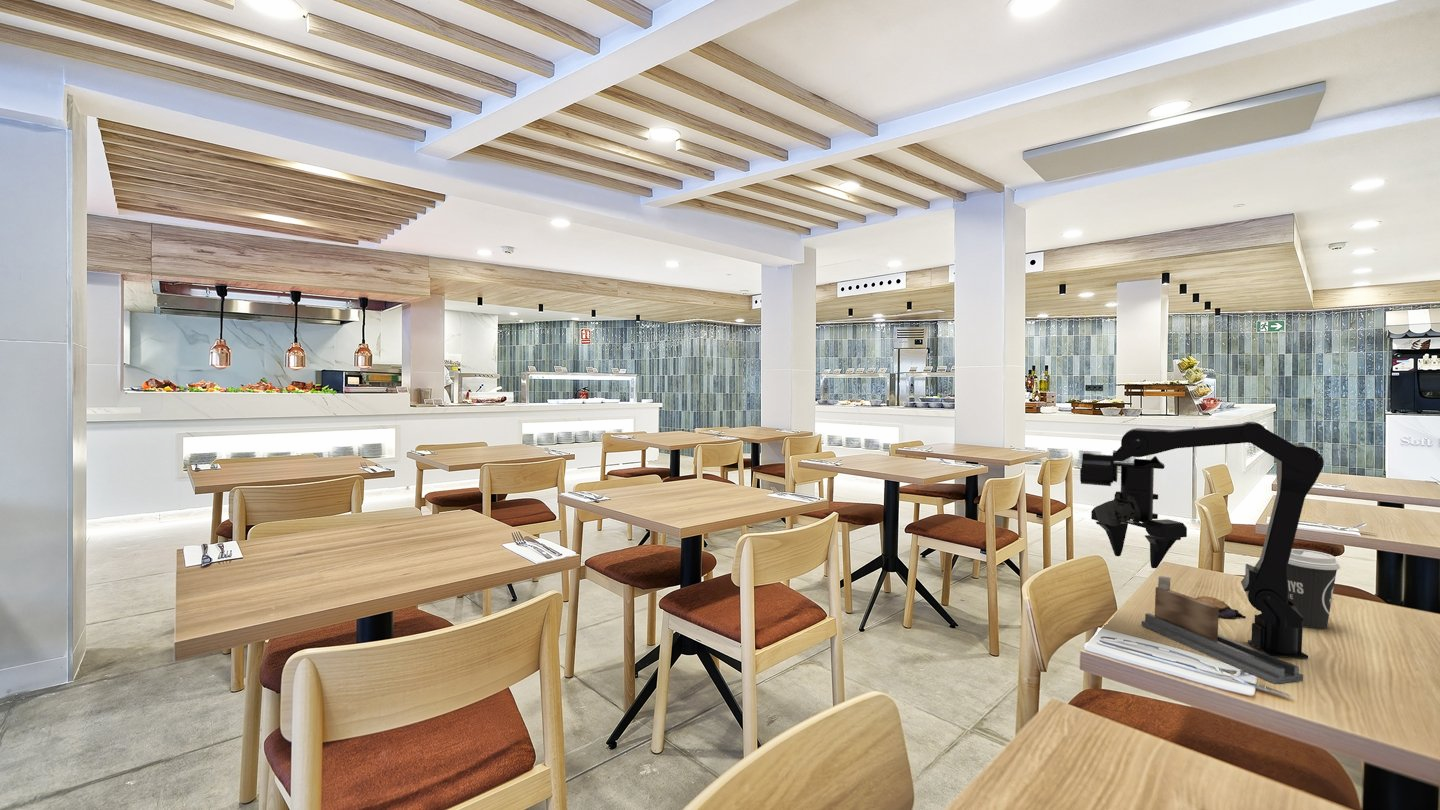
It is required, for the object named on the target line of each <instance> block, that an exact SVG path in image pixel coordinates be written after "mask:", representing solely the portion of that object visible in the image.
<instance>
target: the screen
mask: <svg viewBox="0 0 1440 810" xmlns="http://www.w3.org/2000/svg"><path fill="white" fill-rule="evenodd" d="M1157 579H1158V581H1157V582H1158V583H1157V587H1155V592H1154V594H1155V600H1154V601H1155V602H1154V615H1155V616H1157V617H1160V618H1162V619H1165V620H1167V621H1170V622H1172V623H1174V624H1177V625H1179V626H1182V627H1184V628H1187V629H1189V630H1192V631H1194V632H1197V633H1199V634H1201V635H1204V636H1206V637H1209V638H1211V639H1214V640H1216V641H1218V635H1219V618H1218V617H1219V607H1217V606H1214V605H1212V604H1209V603H1206V602H1203V601H1200V600H1197V599H1195V598H1196V597H1191V596H1188V595H1185V594H1182V593H1180V592H1177V591H1174V590H1172V589H1171V577H1169V576H1163V575H1160V576H1158V578H1157Z"/></svg>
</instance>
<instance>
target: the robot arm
mask: <svg viewBox="0 0 1440 810" xmlns="http://www.w3.org/2000/svg"><path fill="white" fill-rule="evenodd" d="M1246 443H1247V444H1252V445H1253V446H1255V447H1257V448H1258V449H1260V450H1262V451H1263V452H1264V453H1266V454H1269V455H1270V456H1271V457H1273V458H1275V459H1276V460H1275V462H1276V465H1275V467H1276V487H1277V488H1276V494H1275V499H1274V502H1273V506H1272V510H1271V514H1270V518H1269V523H1268V525H1267V526H1268V527H1267V530H1266V535H1265V537H1264V542H1263V546H1262V550H1261V554H1260V556H1259V559H1258V561H1257V562H1256V563H1255V565H1254V566H1253V565H1251V564H1248V563H1245V569H1244V570H1245V573H1244V576H1243V579H1242V580H1240V584H1241V586H1242V588H1243V591H1244V592H1245V594H1246V597H1247V600H1248V602H1249V604H1250V606H1252V607H1253V608H1254V609H1256V610H1257V611H1259V612H1261V613H1259V614H1254V622H1252V624H1251V639H1248V640H1247V643H1248V644H1249V645H1251V646H1253V647H1255V648H1256V649H1257V650H1258V651H1261V652H1263V653H1266V654H1268V655H1271V656H1273V657H1276V658H1277V657H1280V658H1294V659H1295V658H1296V659H1309V655H1308V654H1306V653H1304V652H1303V651H1302V650H1303V633H1304V632H1303V630H1304V629H1303V628H1304V627H1303V623H1302V621H1303V617H1302V616H1301V614H1300V612H1299V611H1298V609H1297V607H1296V606H1295V605H1294V604H1293V603H1292V602H1291V601H1290V600H1289V599H1288V576H1287V566H1288V562H1289V558H1290V554H1291V550H1292V549H1293V546H1294V542H1295V538H1296V534H1297V532H1298V531H1297V530H1298V526H1299V523H1300V520H1301V519H1300V518H1301V514H1302V511H1303V507H1304V504H1305V498H1306V497H1307V495H1308V494H1309V492H1310V491H1311V489H1312V488H1313V486H1314V485H1315V483H1316V482H1317V480H1318V479H1319V476H1320V474H1321V472H1322V471H1323V468H1324V465H1325V464H1324V462H1325V461H1324V458H1323V456H1322V455H1321V454H1320V453H1319V452H1318V451H1317V450H1315V449H1314V448H1311V447H1309V446H1306V445H1303V444H1293V443H1291V442H1290V441H1288V440H1286V439H1284V438H1282V437H1281V436H1279V435H1277V434H1276V433H1274V432H1272V431H1270V430H1268V429H1267V428H1265V426H1264V425H1262V424H1261V423H1259V422H1255V421H1246V422H1243V423H1237V424H1234V423H1232V424H1225V425H1223V424H1222V425H1216V426H1215V425H1213V426H1204V427H1202V426H1201V427H1194V428H1184V429H1159V428H1142V427H1139V428H1131V429H1130V430H1127V431H1126V432H1125V434H1123V436H1122V437H1121V440H1120V447H1119V448H1118V449H1117V450H1114V451H1113V452H1112V455H1111V454H1109V455H1108V454H1095V453H1089V452H1084V453H1082V460H1081V468H1080V470H1079V471H1080V472H1079V473H1080V474H1079V476H1080V477H1079V478H1080V479H1079V480H1080V484H1081V485H1091V486H1104V487H1105V486H1107V487H1112V484H1113V483H1118V478H1119V477H1118V476H1119V475H1118V474H1119V473H1118V472H1119V467H1120V491H1115V493H1114V499H1111V500H1109V501H1106V502H1104V503H1101V504H1100V505H1097V506H1095V507H1094V508H1093V509H1092V510H1091V512H1090V513H1091V515H1090V516H1091V520H1093V521H1095V523H1096V525H1098V526H1100V527H1101V528H1102V529H1103V531H1105V532H1106V535H1107V537H1108V541H1109V543H1110V546H1111V549H1112V551H1113V554H1114V556H1115V557H1121V555H1122V552H1123V548H1124V544H1125V539H1126V536H1127V531H1128V526H1129V525H1132V526H1136V527H1140V528H1144V529H1145V531H1146V533H1147V535H1144V537H1145V538H1146V539H1147V540H1146V541H1148V542H1149V561H1150V563H1149V564H1150V567H1151V569H1157V568H1159V566H1160V564H1161V562H1162V561H1163V559H1164V558H1165V556H1166V555H1167V553H1168V552H1169V550H1170V549H1171V548H1172V546H1173V545H1174V544H1175V543H1176V541H1181V539H1182V538H1187V537H1188V535H1187V534H1188V528H1187V525H1185V524H1184V522H1180V521H1177V520H1172V519H1168V518H1165V519H1159V515H1158V513H1153V512H1154V500H1159V494H1157V493H1154V475H1155V474H1154V473H1155V472H1154V471H1155V470H1154V469H1156V470H1157V469H1159V470H1163V469H1165V464H1164V463H1163V462H1161V461H1160V459H1159V458H1158V457H1157V456H1156V454H1159V453H1160V454H1161V453H1164V452H1168V451H1172V450H1175V449H1177V450H1178V449H1184V448H1185V449H1186V448H1187V449H1188V448H1196V447H1197V448H1198V447H1209V446H1220V445H1221V446H1223V445H1234V444H1235V445H1236V444H1246ZM1152 455H1154V456H1153V457H1152V458H1150V459H1145V458H1144V457H1148V456H1152ZM1132 457H1134V459H1133V462H1124V461H1125V460H1128V459H1130V458H1132Z"/></svg>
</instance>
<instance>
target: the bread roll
mask: <svg viewBox="0 0 1440 810" xmlns="http://www.w3.org/2000/svg"><path fill="white" fill-rule="evenodd" d="M1194 598H1195V599H1197V600H1200V601H1203V602H1206V603H1209V604H1212V605H1214V606H1217V607H1219V617H1218V619H1228V620H1241V619H1246V615H1243V614H1242V613H1241V612H1240V611H1239V610H1237V609H1232V608H1231V607H1230V605H1228V604H1227V603H1225V601H1223V600H1220V599H1219V598H1216V597H1213V596H1212V597H1211V596H1206V595H1205V596H1197V597H1194Z"/></svg>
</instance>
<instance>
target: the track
mask: <svg viewBox="0 0 1440 810" xmlns="http://www.w3.org/2000/svg"><path fill="white" fill-rule="evenodd" d="M1144 616H1145V617H1144V620H1141V623H1140V624H1141V627H1143V628H1146V629H1148V630H1151V631H1153V632H1154V633H1157V634H1160V635H1162V636H1164V637H1167V638H1169V639H1172V640H1174V641H1176V642H1178V643H1180V644H1183V645H1185V646H1187V647H1188V648H1192V649H1194V650H1195V651H1199V652H1201V653H1203V654H1206V655H1208V656H1210V657H1212V658H1215V659H1217V660H1220V661H1222V662H1224V663H1226V664H1228V665H1231V666H1233V667H1236V668H1238V669H1240V670H1242V671H1243V672H1247V673H1249V674H1251V675H1254V676H1255V677H1258V678H1261V679H1263V680H1265V681H1268V682H1270V683H1273V684H1275V685H1277V684H1279V685H1280V684H1287V683H1296V682H1303V680H1304V675H1303V674H1302V673H1300V666H1298V665H1296V664H1293V663H1290V662H1289V661H1285V660H1283V659H1280V658H1277V657H1276V656H1271V655H1268V654H1266V653H1264V652H1263V651H1261V650H1259V649H1257V648H1256V649H1255V648H1253V647H1250V646H1248V645H1245V644H1243V643H1240V642H1238V641H1236V640H1233V639H1230V638H1228V637H1225V636H1222V635H1220V634H1218V641H1216V640H1214V639H1211V638H1209V637H1206V636H1204V635H1201V634H1199V633H1197V632H1194V631H1192V630H1189V629H1187V628H1184V627H1182V626H1179V625H1177V624H1174V623H1172V622H1170V621H1167V620H1165V619H1162V618H1160V617H1157V616H1155V614H1152V613H1149V612H1147V613H1145V615H1144Z"/></svg>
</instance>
